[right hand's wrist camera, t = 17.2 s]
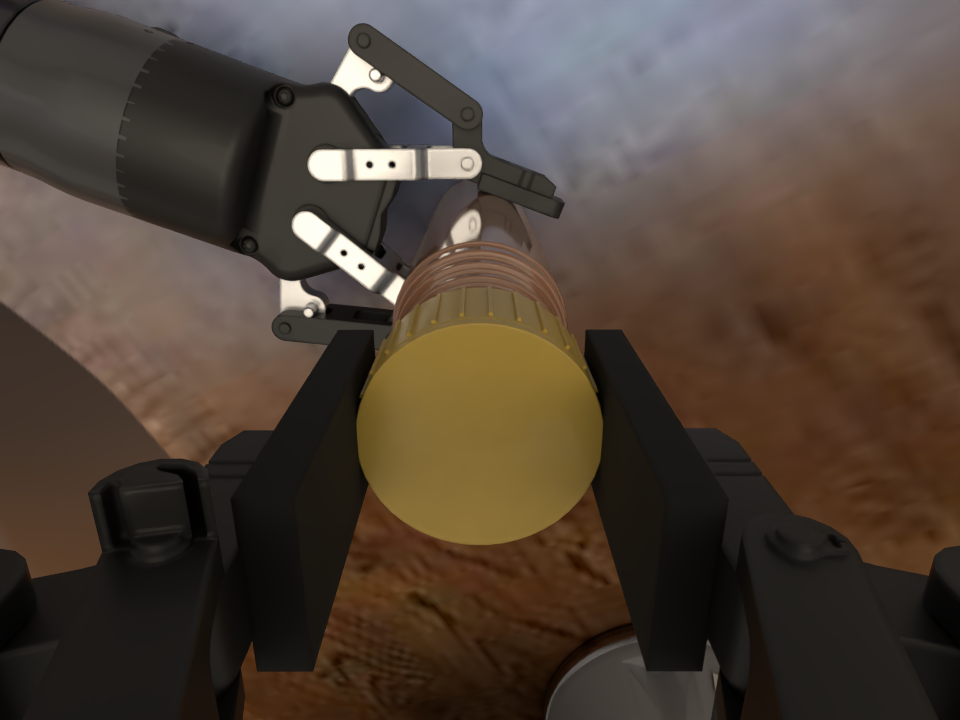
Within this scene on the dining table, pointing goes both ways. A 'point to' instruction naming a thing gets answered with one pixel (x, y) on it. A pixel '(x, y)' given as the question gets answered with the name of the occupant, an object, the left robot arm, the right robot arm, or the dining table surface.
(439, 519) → the cap
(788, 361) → the dining table surface
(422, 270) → the bottle
